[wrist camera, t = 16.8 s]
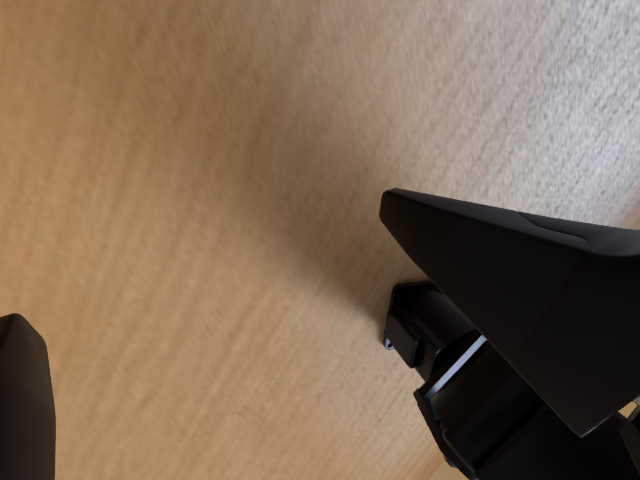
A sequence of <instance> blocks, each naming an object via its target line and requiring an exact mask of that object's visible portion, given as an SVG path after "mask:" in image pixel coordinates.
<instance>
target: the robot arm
mask: <svg viewBox="0 0 640 480" xmlns="http://www.w3.org/2000/svg"><path fill="white" fill-rule="evenodd" d="M379 217H380V220H381V221H382V223H383V224H384V225H385V227H386V228H387V229H388V231H389V232H390V233H391V235H392V236H393V237H394V238H395V240H396V241H397V242H398V244H399V245H400V246H401V248H402V249H403V250H404V251H405V253H406V254H407V255H408V256H409V257H410V258H411V259H412V261H413V262H414V263H415V264H416V265H417V266H418V267H419V268H420V269H421V270H422V271H423V272H424V273H425V274H426V275H427V276H428V278H429V279H430V280H431V281H422V282H413V283H404V284H397V285H395V286H394V287H393V289H392V295H391V300H390V306H389V310H388V314H387V320H386V326H385V331H384V340H383V345H384V347H385V348H386V349H387V350H390V349H396V351H397V352H398V353H399V355H400V356H401V357H402V359H403V360H404V361H405V363H406V364H407V365H408V366H409V367H410V368H415V369H416V371H417V372H418V373H419V375H420V376H421V377H422V378H423V380H424V381H425V383H424V384H423V385H422V386H421V387H420V388H417V389H416V391H415V392H414V393H413V395H414V397H415V399H416V401H417V403H418V404H417V405H418V407H419V409H420V411H421V413H422V415H423V417H424V419H425V421H426V423H427V425H428V427H429V429H430V431H431V433H432V435H433V437H434V439H435V441H436V443H437V445H438V447H439V449H440V450H441V452H442V453H443V456H444V459H445V461H446V462H447V463H448V464H449V465H450V466H451V467H454V468H458V469H459V470H460V471H461V472H462V473H463V474H464V475H465V476H466V477H467V478H468V479H469V480H640V230H631V229H623V228H616V227H609V226H603V225H596V224H589V223H583V222H576V221H570V220H563V219H557V218H551V217H546V216H540V215H535V214H529V213H524V212H516V211H513V210H508V209H503V208H498V207H493V206H487V205H482V204H477V203H472V202H467V201H461V200H456V199H451V198H446V197H441V196H435V195H430V194H425V193H420V192H415V191H410V190H404V189H399V188H393V189H389V190H386V191H385V192H383V194H382V198H381V204H380V211H379ZM398 290H400V291H399V292H398ZM631 401H634V402H635V403H636V404H637V407H636V408H635V409H634V410H633V412H632V413H631V414H630V415H629V417H628V418H626V417H624V416H623V415H622V414H621V413H619V412H618V411H619V410H620V409H622V408H623V407H624V406H626V405H627V404H629V403H630V402H631ZM55 445H56V416H55V406H54V398H53V390H52V383H51V375H50V368H49V360H48V353H47V347H46V343H45V341H44V339H43V338H42V336H41V335H40V334H39V333H38V332H37V331H36V330H35V329H34V328H33V327H32V326H31V325H30V323H29V322H28V321H27V320H26V319H25V318H24V317H23V316H22V315H20V314H17V313H12V314H9V315H6V316H3V317H0V480H55Z"/></svg>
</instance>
